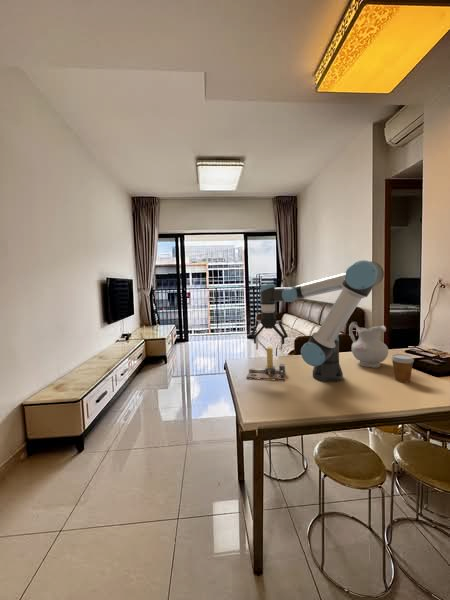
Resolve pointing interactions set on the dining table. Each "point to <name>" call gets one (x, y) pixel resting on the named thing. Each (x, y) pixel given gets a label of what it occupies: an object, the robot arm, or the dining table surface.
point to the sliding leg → (270, 361)
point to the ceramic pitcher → (368, 345)
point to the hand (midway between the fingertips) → (269, 349)
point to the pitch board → (262, 373)
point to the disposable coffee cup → (402, 367)
